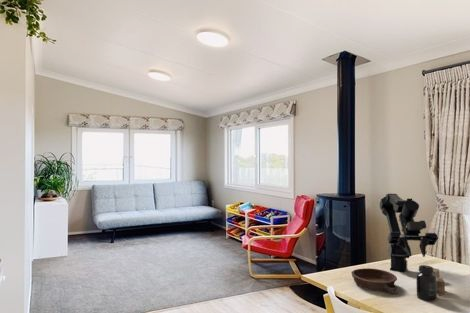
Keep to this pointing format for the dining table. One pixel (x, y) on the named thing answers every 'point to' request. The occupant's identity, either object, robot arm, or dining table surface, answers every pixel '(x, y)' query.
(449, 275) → the dining table surface
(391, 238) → the robot arm
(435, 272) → the walnut block far
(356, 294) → the dining table surface
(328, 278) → the dining table surface
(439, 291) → the walnut block near bottle
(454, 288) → the dining table surface
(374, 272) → the dish
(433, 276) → the supplement bottle
